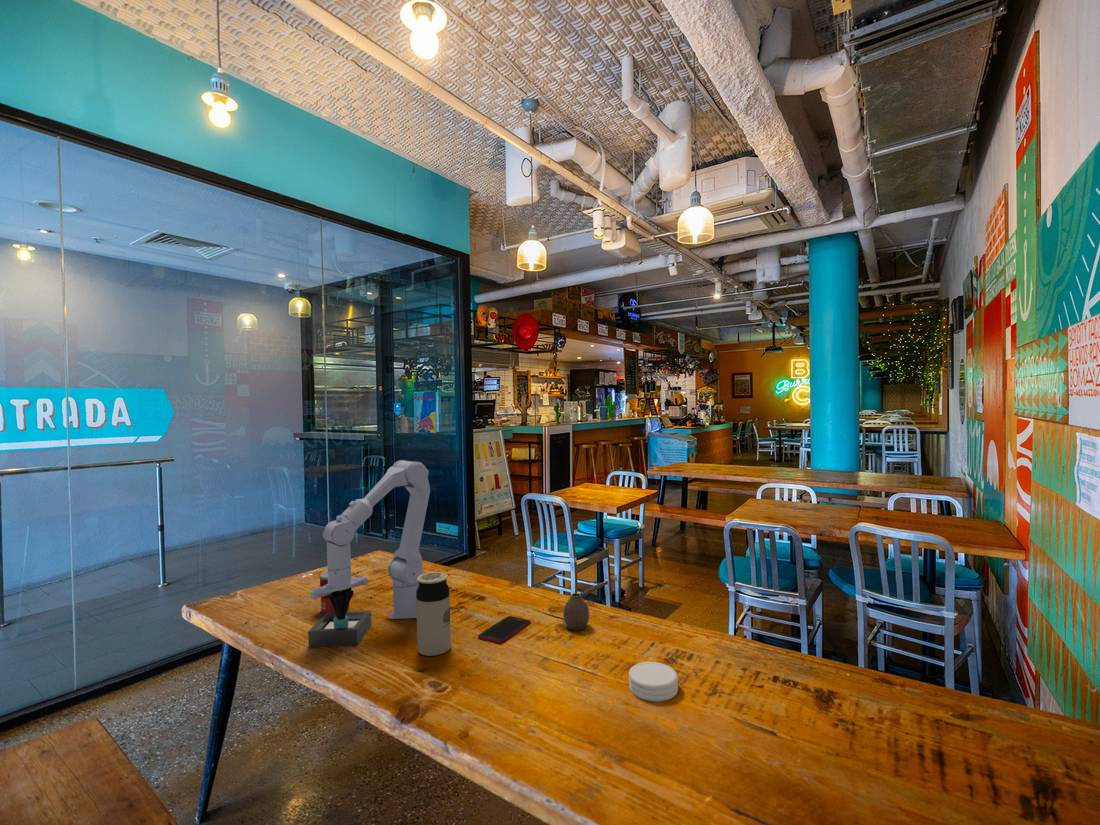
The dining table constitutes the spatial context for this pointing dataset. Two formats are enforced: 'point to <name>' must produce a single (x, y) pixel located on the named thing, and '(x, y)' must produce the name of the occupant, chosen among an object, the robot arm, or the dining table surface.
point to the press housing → (339, 630)
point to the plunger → (341, 623)
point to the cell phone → (504, 630)
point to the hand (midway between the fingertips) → (340, 618)
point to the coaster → (653, 681)
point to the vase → (576, 612)
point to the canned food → (325, 602)
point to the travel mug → (433, 614)
